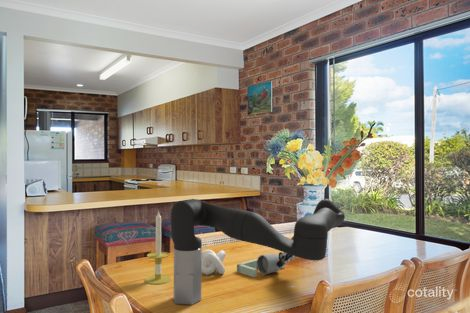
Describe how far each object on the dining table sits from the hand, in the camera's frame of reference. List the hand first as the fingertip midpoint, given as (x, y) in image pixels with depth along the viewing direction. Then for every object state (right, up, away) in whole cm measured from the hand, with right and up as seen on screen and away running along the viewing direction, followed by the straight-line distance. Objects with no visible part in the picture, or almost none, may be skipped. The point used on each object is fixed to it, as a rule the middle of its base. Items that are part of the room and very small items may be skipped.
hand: (278, 265), depth 147 cm
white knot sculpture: (-26, -4, +1) cm, 27 cm away
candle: (-48, -4, -7) cm, 48 cm away
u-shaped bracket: (-7, -4, +7) cm, 10 cm away
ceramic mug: (-4, -4, +4) cm, 7 cm away
